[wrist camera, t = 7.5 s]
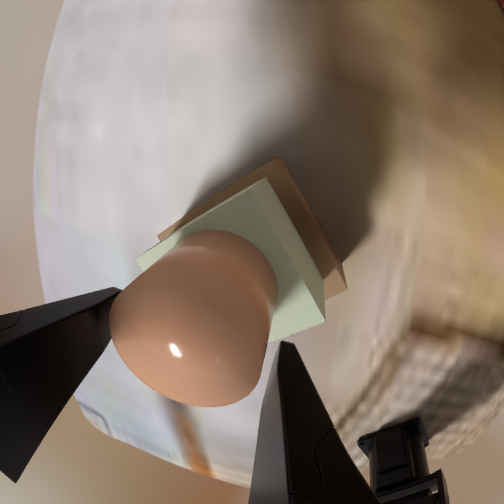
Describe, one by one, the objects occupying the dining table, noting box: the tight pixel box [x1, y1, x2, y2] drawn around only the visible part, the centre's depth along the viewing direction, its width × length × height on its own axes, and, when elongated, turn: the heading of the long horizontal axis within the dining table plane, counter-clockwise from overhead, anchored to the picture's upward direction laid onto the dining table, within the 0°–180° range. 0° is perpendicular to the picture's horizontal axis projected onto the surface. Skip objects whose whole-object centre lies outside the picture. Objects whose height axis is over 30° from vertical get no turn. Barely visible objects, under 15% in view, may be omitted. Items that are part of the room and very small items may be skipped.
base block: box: [157, 157, 347, 300], centre depth 16 cm, size 7×7×4 cm
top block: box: [135, 177, 325, 343], centre depth 12 cm, size 6×6×4 cm
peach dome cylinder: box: [109, 230, 278, 407], centre depth 9 cm, size 4×4×4 cm
